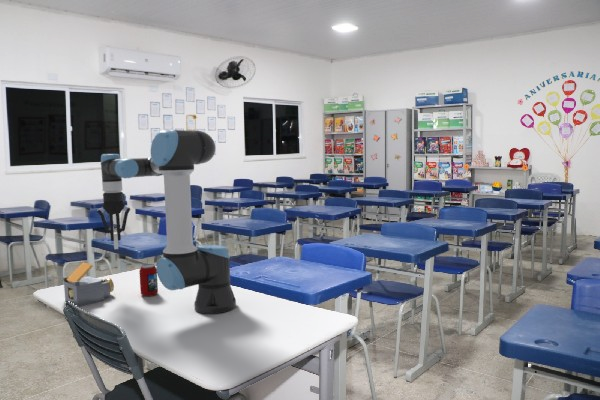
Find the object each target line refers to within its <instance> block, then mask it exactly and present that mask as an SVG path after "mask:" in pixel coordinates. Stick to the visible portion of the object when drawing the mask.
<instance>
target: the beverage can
mask: <svg viewBox="0 0 600 400" xmlns="http://www.w3.org/2000/svg"><path fill="white" fill-rule="evenodd" d="M138 273H139V287H140V295H142V296H143V297H154V296H155V295H156V294H158V293H159V289H158V287H159V285H158V284H159V283H158V274H157V269H156V265H155V264H152V263H151V264H150V263H149V264H147V263H146V264H143V265H141V266H140V268H139V272H138Z"/></svg>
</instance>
